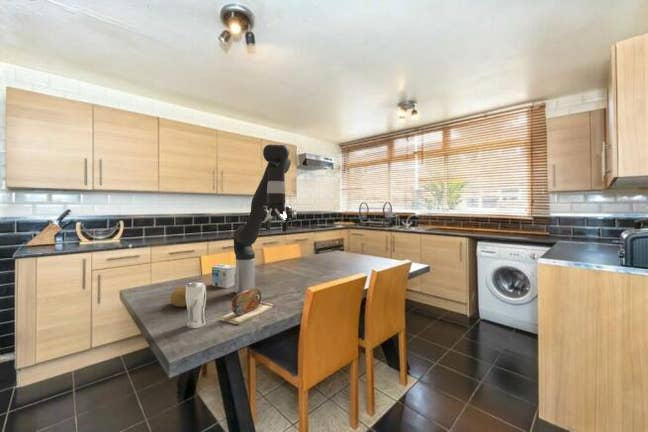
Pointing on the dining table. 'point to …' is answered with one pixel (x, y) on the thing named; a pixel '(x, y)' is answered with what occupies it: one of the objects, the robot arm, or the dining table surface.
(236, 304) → the tin
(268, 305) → the board
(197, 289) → the beer glass
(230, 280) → the light bulb box
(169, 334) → the dining table surface
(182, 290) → the potato
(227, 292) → the dining table surface
